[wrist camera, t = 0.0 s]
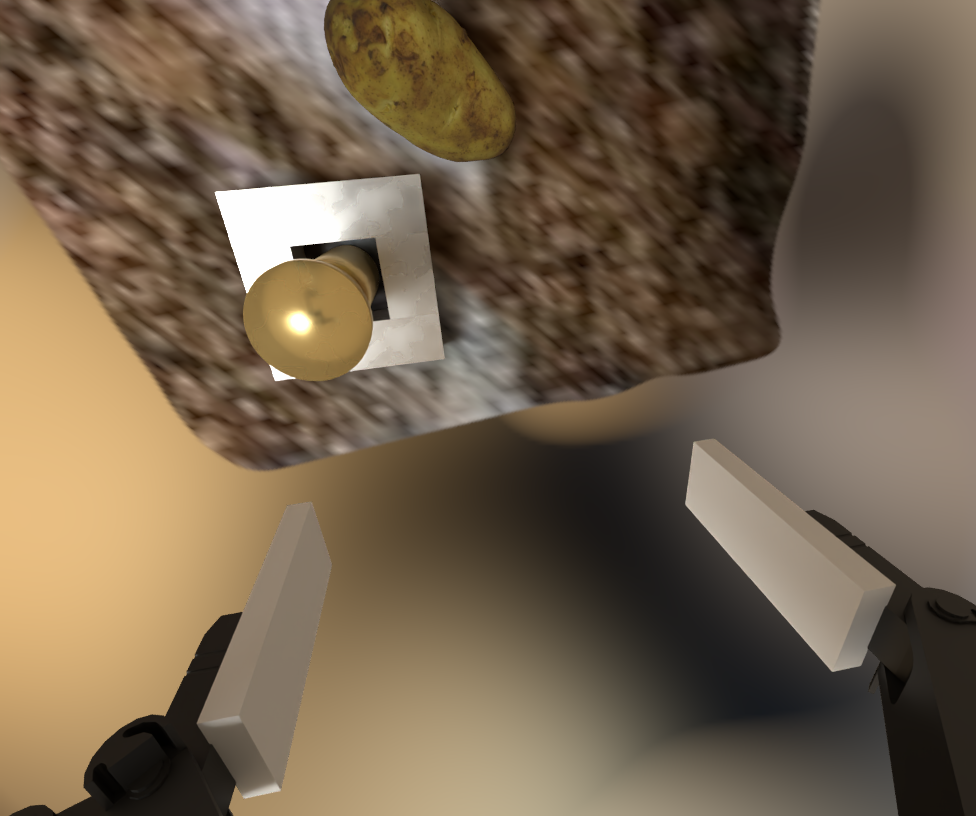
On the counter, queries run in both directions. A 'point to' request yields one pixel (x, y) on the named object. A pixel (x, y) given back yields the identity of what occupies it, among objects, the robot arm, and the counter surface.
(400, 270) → the housing
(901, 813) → the robot arm
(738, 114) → the counter surface
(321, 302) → the gold tall flared cylinder
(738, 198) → the counter surface
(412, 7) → the potato
